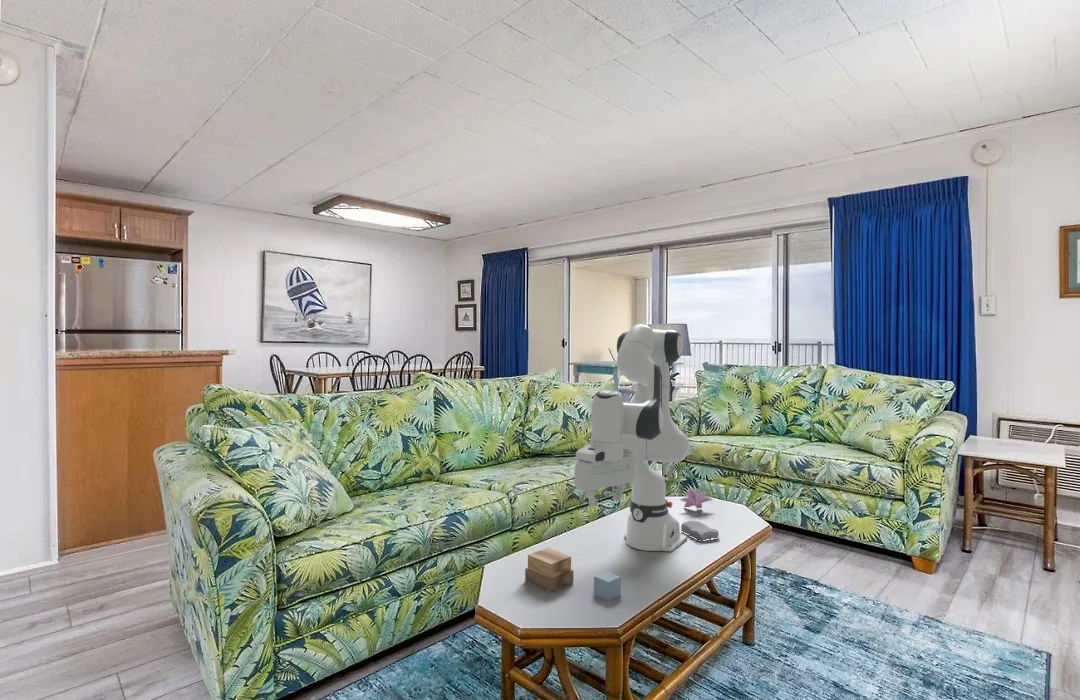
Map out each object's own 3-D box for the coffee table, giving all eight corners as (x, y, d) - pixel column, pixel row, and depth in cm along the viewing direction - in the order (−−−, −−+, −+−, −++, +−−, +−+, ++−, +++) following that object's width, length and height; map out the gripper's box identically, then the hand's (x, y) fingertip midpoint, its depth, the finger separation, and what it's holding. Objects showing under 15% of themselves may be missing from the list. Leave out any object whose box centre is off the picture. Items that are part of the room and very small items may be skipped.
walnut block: (547, 573, 163) (547, 560, 163) (573, 584, 156) (573, 570, 156) (525, 582, 157) (525, 568, 157) (550, 594, 150) (550, 579, 150)
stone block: (700, 534, 205) (677, 531, 201) (703, 521, 205) (680, 518, 201) (721, 546, 193) (698, 543, 190) (724, 532, 194) (700, 529, 190)
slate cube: (605, 589, 153) (606, 571, 153) (620, 595, 149) (620, 576, 149) (593, 594, 149) (594, 576, 149) (608, 601, 146) (608, 582, 146)
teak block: (548, 561, 162) (548, 547, 162) (570, 570, 156) (571, 556, 156) (527, 568, 157) (527, 554, 157) (550, 579, 150) (550, 564, 150)
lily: (717, 515, 224) (712, 491, 229) (709, 510, 215) (704, 485, 220) (688, 520, 230) (683, 496, 234) (678, 515, 220) (674, 491, 225)
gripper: (623, 446, 160) (622, 495, 159) (571, 452, 146) (569, 506, 146) (641, 449, 155) (639, 500, 154) (588, 456, 142) (586, 511, 141)
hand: (605, 503), depth 150 cm, fingers open, 8 cm apart
